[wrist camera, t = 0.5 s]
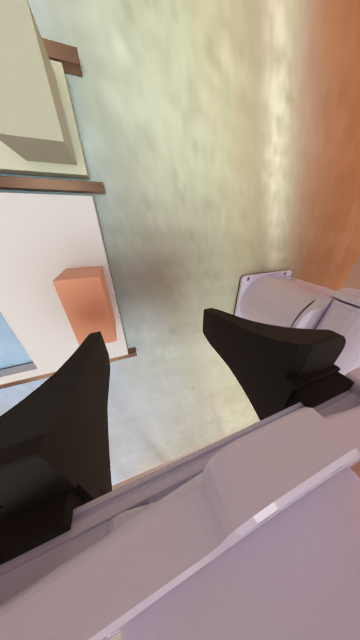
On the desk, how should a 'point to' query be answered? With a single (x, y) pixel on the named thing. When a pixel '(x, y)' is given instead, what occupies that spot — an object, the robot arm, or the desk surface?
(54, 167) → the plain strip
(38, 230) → the cube strip
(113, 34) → the desk surface
